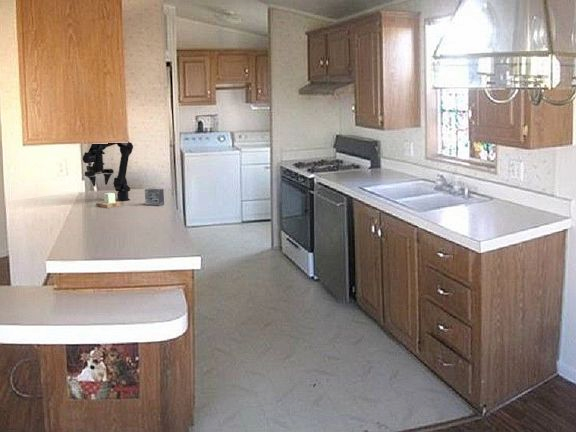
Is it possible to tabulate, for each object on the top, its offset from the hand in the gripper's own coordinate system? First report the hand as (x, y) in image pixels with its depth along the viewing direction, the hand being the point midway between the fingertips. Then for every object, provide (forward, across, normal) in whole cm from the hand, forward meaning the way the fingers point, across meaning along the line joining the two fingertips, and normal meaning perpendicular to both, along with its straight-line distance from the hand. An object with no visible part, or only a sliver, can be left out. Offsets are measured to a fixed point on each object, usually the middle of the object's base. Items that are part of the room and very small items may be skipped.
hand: (100, 185), depth 439 cm
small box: (+13, -17, +32) cm, 39 cm away
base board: (+12, 0, +9) cm, 16 cm away
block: (+10, 0, +9) cm, 14 cm away
